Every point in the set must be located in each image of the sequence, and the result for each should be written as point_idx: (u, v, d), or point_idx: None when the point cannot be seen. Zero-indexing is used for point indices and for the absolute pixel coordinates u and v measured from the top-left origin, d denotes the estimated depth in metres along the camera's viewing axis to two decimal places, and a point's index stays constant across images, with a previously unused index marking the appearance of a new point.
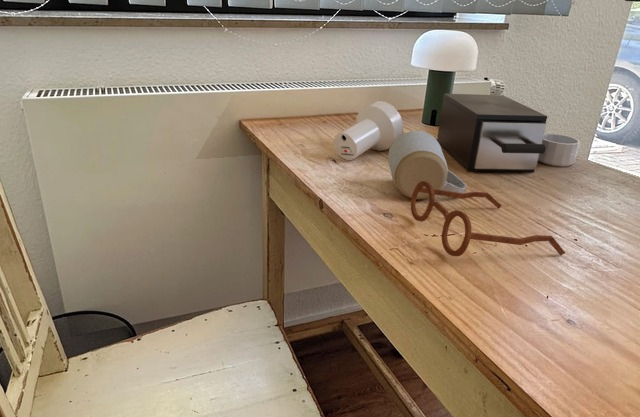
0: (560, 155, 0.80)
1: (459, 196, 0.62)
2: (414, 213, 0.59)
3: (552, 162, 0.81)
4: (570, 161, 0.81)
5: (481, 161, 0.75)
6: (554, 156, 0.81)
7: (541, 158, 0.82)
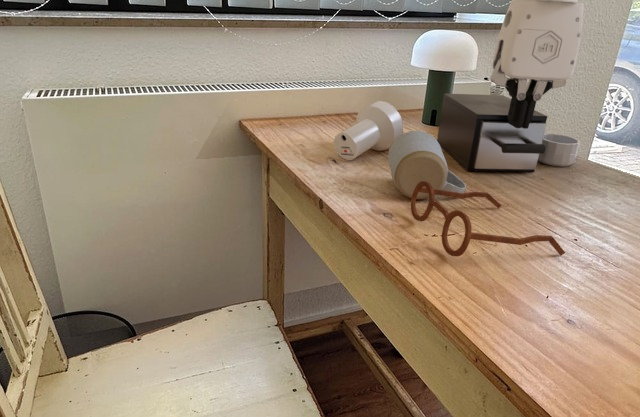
0: (560, 155, 0.80)
1: (459, 196, 0.62)
2: (414, 213, 0.59)
3: (552, 162, 0.81)
4: (570, 161, 0.81)
5: (481, 161, 0.75)
6: (554, 156, 0.81)
7: (541, 158, 0.82)
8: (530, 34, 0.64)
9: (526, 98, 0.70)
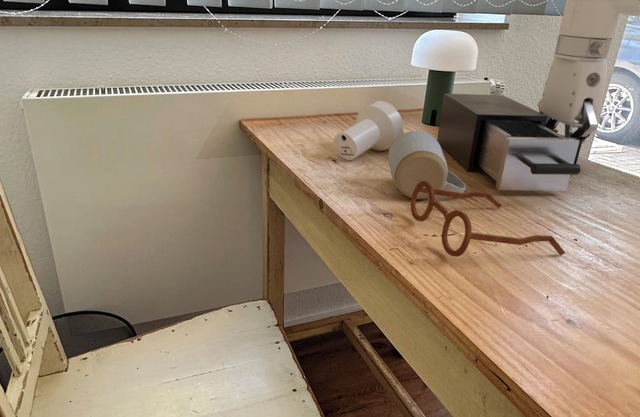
0: None
1: (459, 196, 0.62)
2: (414, 213, 0.59)
3: None
4: None
5: (505, 182, 0.67)
6: None
7: None
8: None
9: (550, 129, 0.85)
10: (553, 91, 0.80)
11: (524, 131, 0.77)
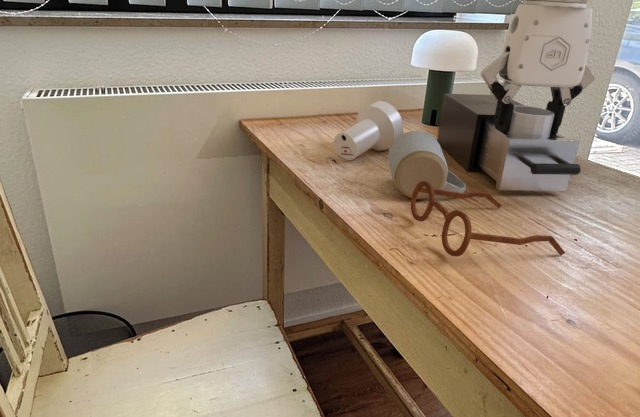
0: None
1: (459, 196, 0.62)
2: (414, 213, 0.59)
3: None
4: (508, 132, 0.69)
5: (505, 182, 0.67)
6: None
7: None
8: (537, 40, 0.62)
9: (555, 103, 0.69)
10: None
11: None
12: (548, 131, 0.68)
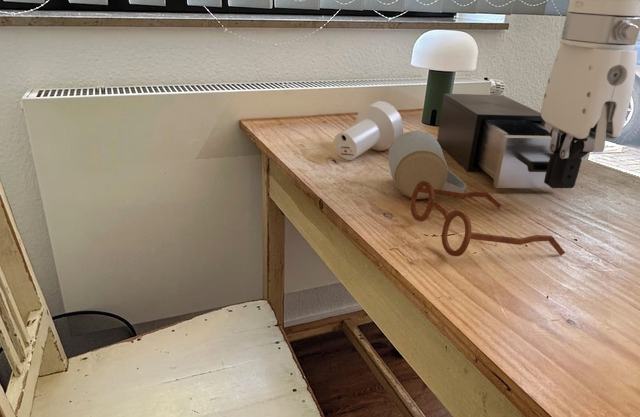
0: None
1: (459, 196, 0.62)
2: (414, 213, 0.59)
3: None
4: None
5: (503, 180, 0.68)
6: None
7: None
8: None
9: None
10: (559, 92, 0.58)
11: (522, 130, 0.78)
12: None
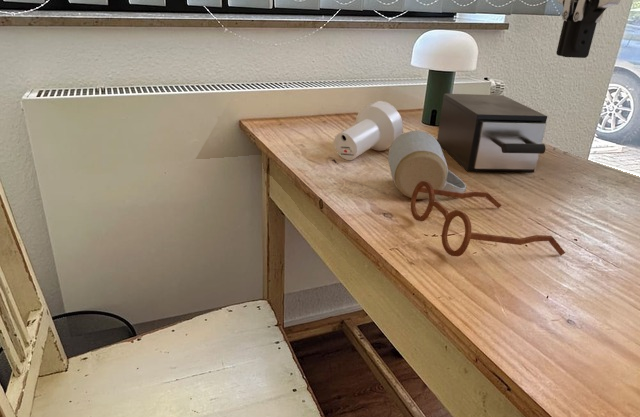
0: None
1: (459, 196, 0.62)
2: (414, 213, 0.59)
3: None
4: None
5: (481, 161, 0.75)
6: None
7: None
8: None
9: None
10: None
11: None
12: None
